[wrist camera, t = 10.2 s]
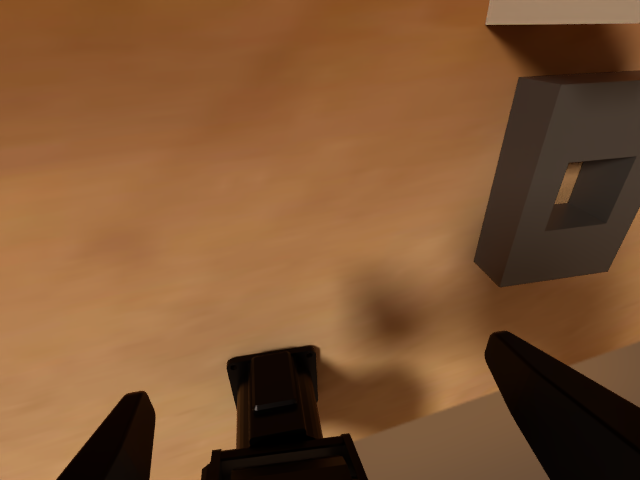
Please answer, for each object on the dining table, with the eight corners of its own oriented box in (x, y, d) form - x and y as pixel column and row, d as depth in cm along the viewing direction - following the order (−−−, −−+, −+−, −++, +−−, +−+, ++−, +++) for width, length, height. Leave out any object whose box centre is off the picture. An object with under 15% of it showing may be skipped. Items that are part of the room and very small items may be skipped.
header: (572, 248, 26) (607, 271, 24) (473, 261, 25) (499, 287, 23) (646, 70, 20) (704, 76, 17) (518, 77, 19) (561, 84, 16)
